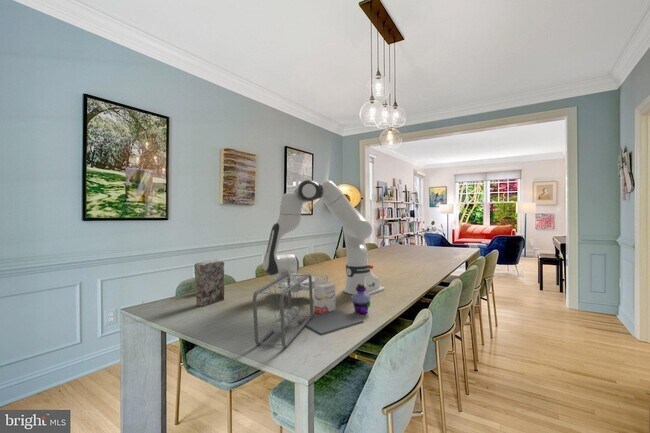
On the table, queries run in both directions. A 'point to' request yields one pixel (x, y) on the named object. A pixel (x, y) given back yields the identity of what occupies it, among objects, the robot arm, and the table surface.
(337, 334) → the table surface
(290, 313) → the newton's cradle
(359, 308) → the potion bottle
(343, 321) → the mat
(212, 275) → the stone block
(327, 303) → the ink cartridge box
